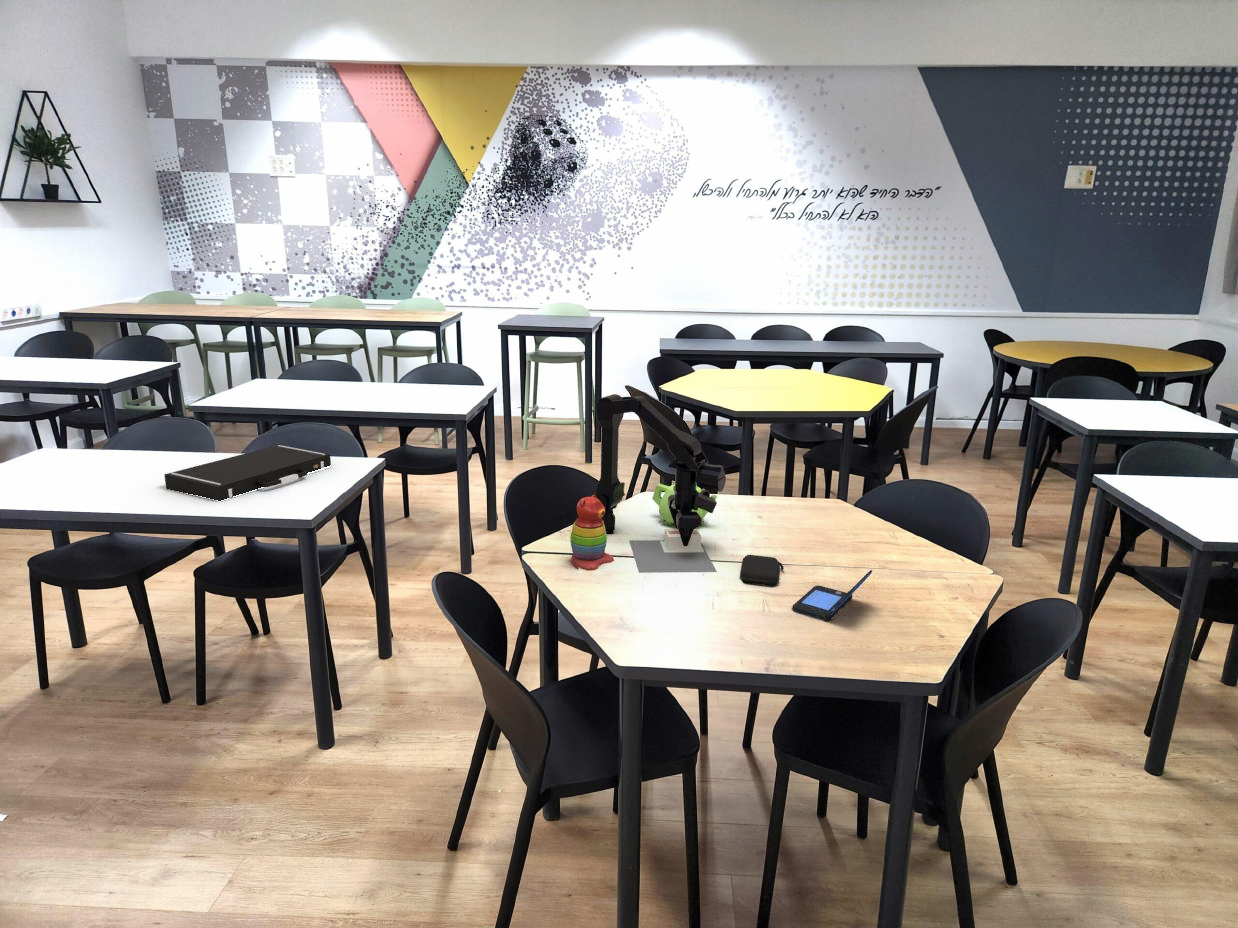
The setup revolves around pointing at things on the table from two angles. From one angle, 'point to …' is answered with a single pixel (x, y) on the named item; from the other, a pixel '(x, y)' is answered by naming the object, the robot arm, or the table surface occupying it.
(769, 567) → the carrying case or bag
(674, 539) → the box
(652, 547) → the mat
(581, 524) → the stacking bear
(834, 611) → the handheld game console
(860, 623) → the table surface
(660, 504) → the teapot
